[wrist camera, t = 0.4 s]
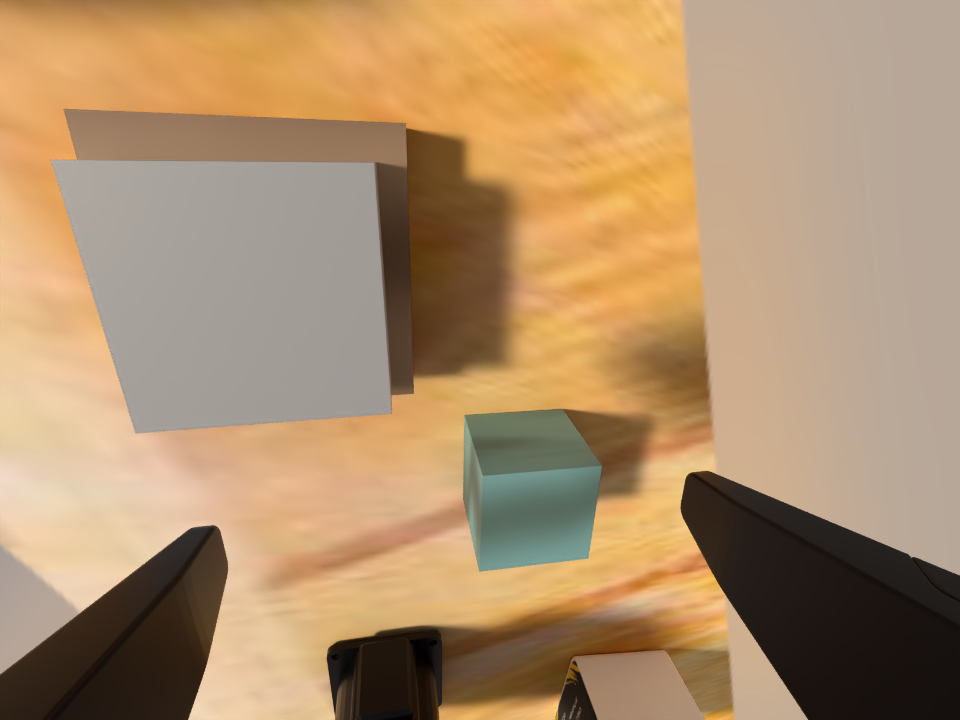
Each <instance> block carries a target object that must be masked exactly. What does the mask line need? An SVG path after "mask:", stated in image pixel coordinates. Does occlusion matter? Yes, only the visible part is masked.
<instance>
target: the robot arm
mask: <svg viewBox="0 0 960 720" xmlns="http://www.w3.org/2000/svg"><path fill="white" fill-rule="evenodd" d="M681 514H682V517H683V519H684V521H685V523H686V525H687V526H688V528H689V530H690V532H691V534H692V536H693V538H694V539H695V541H696V543H697V545H698V547H699V549H700V551H701V553H702V554H703V556H704V558H705V560H706V562H707V564H708V566H709V568H710V569H711V571H712V573H713V575H714V577H715V578H716V580H717V582H718V584H719V585H720V587H721V588H722V590H723V592H724V593H725V595H726V596H727V598H728V599H729V601H730V602H731V604H732V605H733V607H734V608H735V610H736V611H737V613H738V615H739V616H740V618H741V619H742V621H743V622H744V623H745V625H746V627H747V628H748V630H749V631H750V633H751V634H752V636H753V637H754V639H755V640H756V642H757V643H758V645H759V646H760V647H761V649H762V651H763V652H764V654H765V655H766V657H767V658H768V660H769V661H770V663H771V664H772V666H773V667H774V669H775V670H776V672H777V673H778V675H779V676H780V678H781V679H782V681H783V682H784V684H785V685H786V687H787V689H788V690H789V691H790V693H791V695H792V696H793V698H794V699H795V701H796V702H797V704H798V705H799V707H800V708H801V710H802V711H803V713H804V714H805V715H806V717H807V719H808V720H960V576H959V575H957V574H955V573H952V572H950V571H947V570H945V569H942V568H940V567H937V566H935V565H933V564H930V563H928V562H925V561H923V560H921V559H918V558H915V557H912V558H911V557H910V556H909V555H908V554H906V553H904V552H901V551H899V550H896V549H894V548H892V547H889V546H887V545H884V544H882V543H880V542H877V541H875V540H873V539H870V538H868V537H865V536H863V535H861V534H858V533H856V532H853V531H851V530H849V529H846V528H844V527H841V526H839V525H837V524H834V523H832V522H829V521H827V520H825V519H822V518H820V517H817V516H815V515H813V514H810V513H808V512H805V511H803V510H801V509H798V508H796V507H793V506H791V505H789V504H786V503H784V502H781V501H779V500H777V499H774V498H772V497H770V496H767V495H765V494H762V493H760V492H758V491H755V490H753V489H751V488H748V487H746V486H743V485H741V484H738V483H736V482H734V481H731V480H729V479H727V478H724V477H722V476H719V475H717V474H715V473H712V472H709V471H700V472H692V473H690V474H688V475H687V477H686V480H685V485H684V490H683V495H682V500H681ZM227 574H228V561H227V557H226V553H225V548H224V544H223V540H222V536H221V532H220V530H219V528H218V527H217V526H215V525H211V526H202V527H194V528H191V529H189V530H188V531H186V532H185V533H184V534H182V535H181V536H180V537H178V538H177V539H176V540H175V541H173V542H172V543H171V544H169V545H168V546H167V547H165V548H164V549H163V550H162V551H160V552H159V553H158V554H156V555H155V556H154V557H152V558H151V559H150V560H149V561H147V562H146V563H145V564H143V565H142V566H141V567H139V568H138V569H137V570H136V571H134V572H133V573H132V574H130V575H129V576H128V577H126V578H125V579H124V580H122V581H121V582H120V583H119V584H117V585H116V586H115V587H113V588H112V589H111V590H109V591H108V592H107V593H106V594H104V595H103V596H102V597H100V598H99V599H98V600H96V601H95V602H94V603H93V604H91V605H90V606H89V607H87V608H86V609H85V610H83V611H82V612H81V613H80V614H78V615H77V616H76V617H74V618H73V619H72V620H71V621H69V622H68V623H67V624H65V625H64V626H63V627H61V628H60V629H59V630H57V631H56V632H55V633H54V634H52V635H51V636H50V637H48V638H47V639H46V640H45V641H43V642H42V643H41V644H40V645H38V646H37V647H35V648H34V649H33V650H31V651H30V652H29V653H27V654H26V655H25V656H24V657H22V658H21V659H20V660H18V661H17V662H16V663H14V664H13V665H12V666H11V667H9V668H8V669H7V670H5V671H4V672H3V673H1V674H0V720H188V718H189V716H190V713H191V710H192V707H193V704H194V701H195V698H196V695H197V692H198V689H199V686H200V684H201V681H202V678H203V674H204V671H205V668H206V665H207V661H208V657H209V653H210V649H211V645H212V641H213V636H214V632H215V627H216V623H217V619H218V614H219V610H220V605H221V601H222V597H223V592H224V588H225V583H226V579H227ZM327 663H328V670H329V677H330V684H331V691H332V698H333V706H334V713H335V720H439V710H438V707H439V706H440V705H441V703H442V641H441V634H440V633H439V632H438V631H428V632H420V633H413V634H406V635H399V636H392V637H385V638H378V639H370V640H363V641H356V642H349V643H342V644H335V645H332V646H331V647H329V649H328V653H327Z"/></svg>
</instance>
